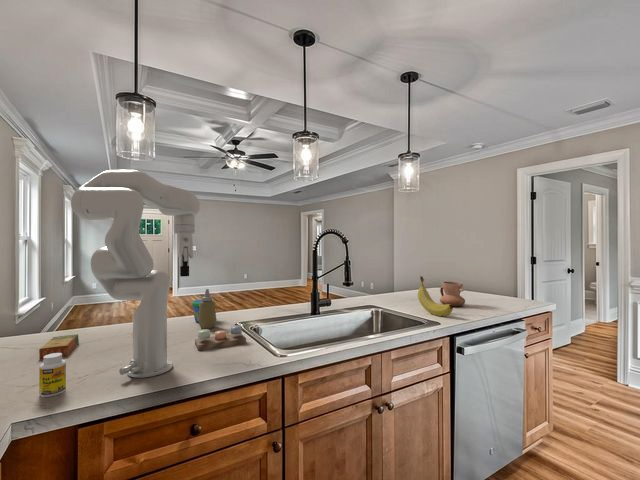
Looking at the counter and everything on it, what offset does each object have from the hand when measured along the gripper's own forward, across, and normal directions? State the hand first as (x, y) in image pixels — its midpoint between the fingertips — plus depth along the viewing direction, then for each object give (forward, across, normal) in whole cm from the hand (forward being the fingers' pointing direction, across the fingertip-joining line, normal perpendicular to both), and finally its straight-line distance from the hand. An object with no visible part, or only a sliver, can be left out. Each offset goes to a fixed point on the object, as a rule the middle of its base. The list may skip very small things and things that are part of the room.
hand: (184, 276), depth 129 cm
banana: (+27, -10, -125) cm, 128 cm away
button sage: (+23, -7, -6) cm, 25 cm away
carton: (+27, +13, +42) cm, 52 cm away
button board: (+27, -6, -13) cm, 30 cm away
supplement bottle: (+27, -28, +35) cm, 53 cm away
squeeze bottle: (+27, +21, -12) cm, 36 cm away
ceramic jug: (+27, +3, -153) cm, 156 cm away
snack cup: (+27, +35, -11) cm, 46 cm away
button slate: (+23, -6, -19) cm, 31 cm away
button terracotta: (+25, -7, -13) cm, 28 cm away
